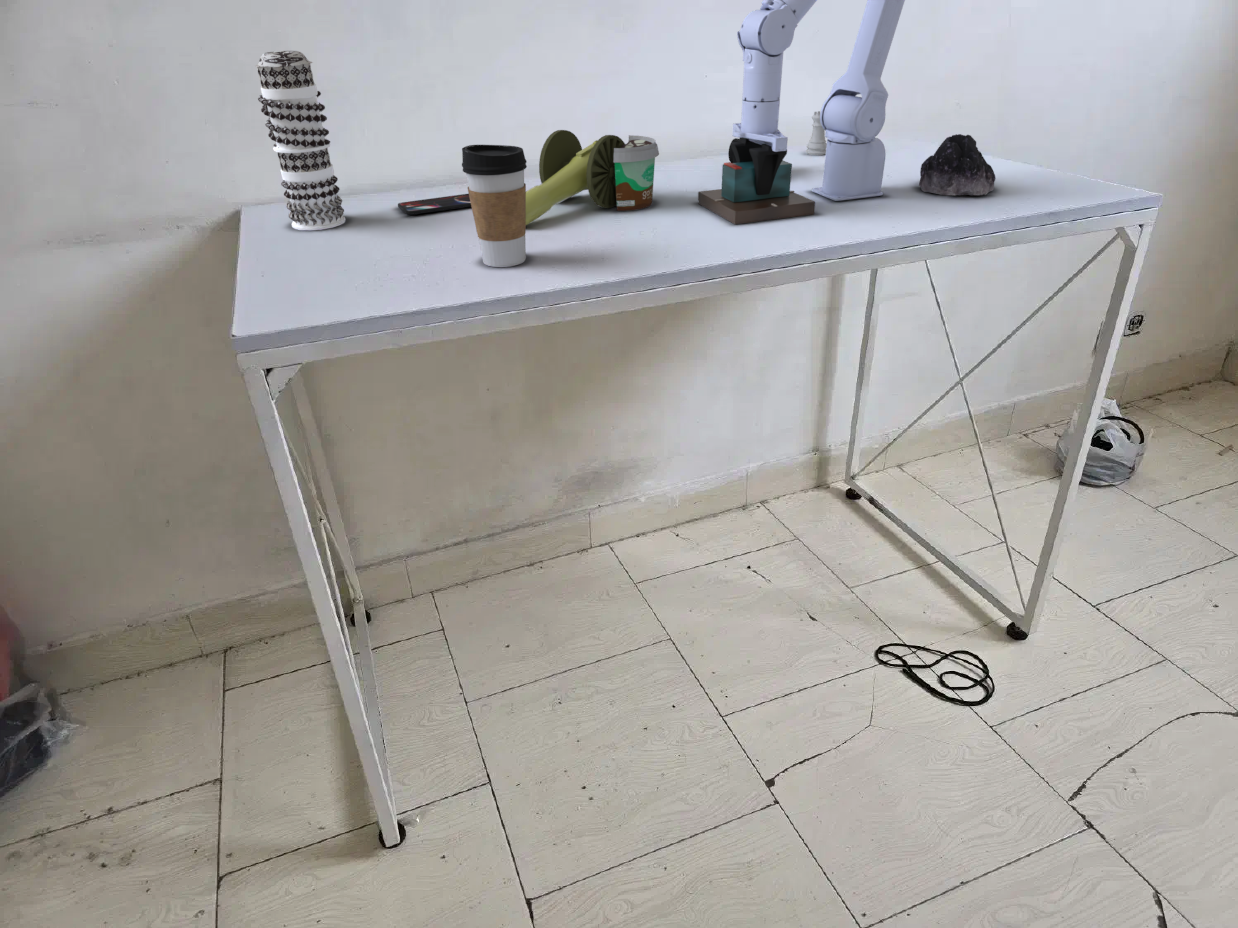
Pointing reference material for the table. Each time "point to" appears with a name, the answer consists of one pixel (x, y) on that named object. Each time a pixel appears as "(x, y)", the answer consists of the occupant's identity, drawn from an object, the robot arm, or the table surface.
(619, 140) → the cannon
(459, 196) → the smartphone
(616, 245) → the table surface
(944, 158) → the crystal cluster
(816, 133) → the white chess piece
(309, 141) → the white patterned cylinder
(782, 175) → the teal block red stripe
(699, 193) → the clock
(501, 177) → the coffee cup
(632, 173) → the food container
